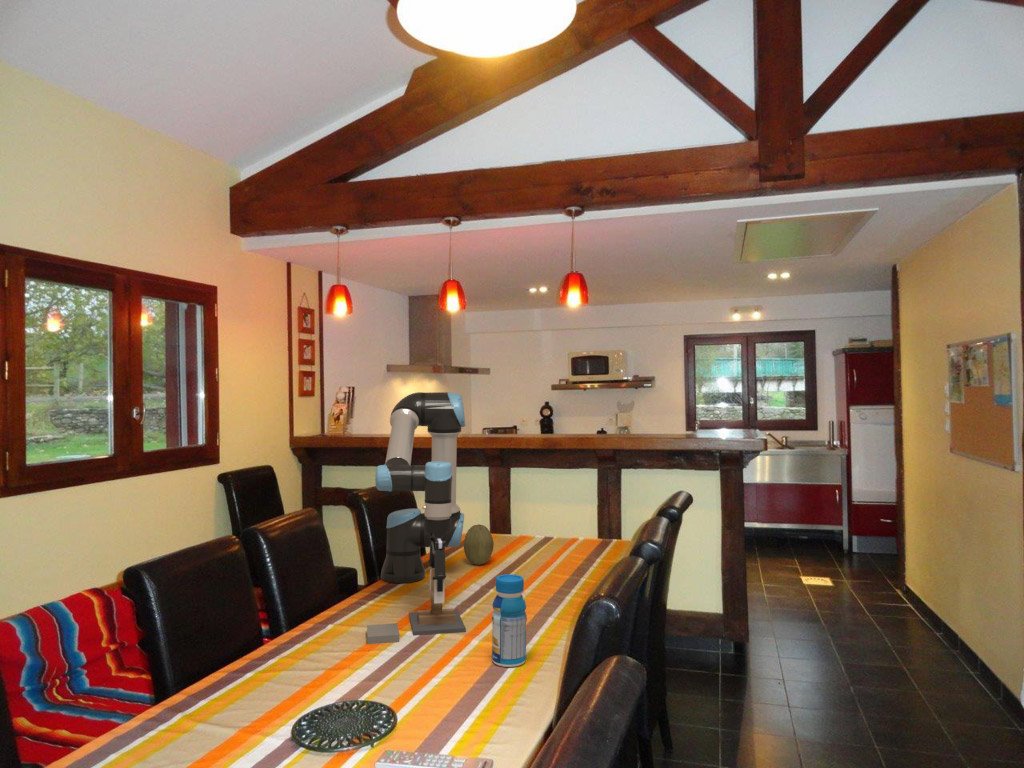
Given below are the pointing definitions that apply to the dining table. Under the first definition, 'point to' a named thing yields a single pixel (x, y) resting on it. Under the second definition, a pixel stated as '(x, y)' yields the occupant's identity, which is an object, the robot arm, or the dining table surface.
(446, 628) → the mat
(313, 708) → the dining table surface
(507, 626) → the beverage bottle
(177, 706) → the dining table surface
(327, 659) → the dining table surface
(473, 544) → the fruit
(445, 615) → the tamper
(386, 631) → the tile
